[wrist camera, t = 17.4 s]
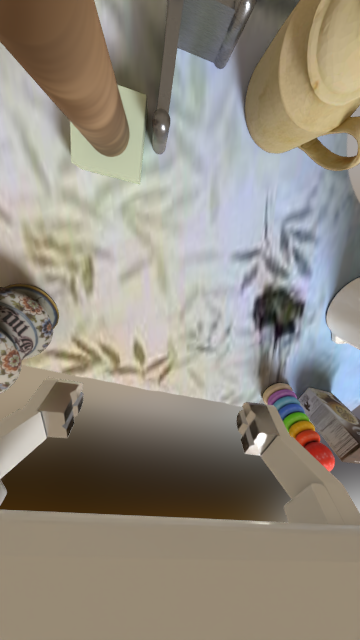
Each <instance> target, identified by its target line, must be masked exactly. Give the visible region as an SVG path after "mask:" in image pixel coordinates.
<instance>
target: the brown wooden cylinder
mask: <svg viewBox="0 0 360 640" xmlns="http://www.w3.org/2000/svg"><path fill="white" fill-rule="evenodd" d="M0 42H1V43H2V44H3V45H4V46H5V47H6V49H7V50H8V51H9V52H10V53H11V54H12V55H13V57H14V58H15V59H16V60H17V61H18V62H19V63H20V65H21V66H22V67H23V68H24V69H25V70H26V71H27V72H28V74H29V75H30V76H31V77H32V78H33V79H34V80H35V82H36V83H37V84H38V85H39V86H40V87H41V88H42V90H43V91H44V92H45V93H46V94H47V95H48V96H49V97H50V99H51V100H52V101H53V102H54V103H55V104H56V105H57V107H58V108H59V109H60V110H61V111H62V112H63V113H64V115H65V116H66V117H67V118H68V119H69V120H70V121H71V122H72V124H73V125H74V126H75V127H76V128H77V129H78V130H79V132H80V133H81V134H82V135H83V136H84V137H85V138H86V139H87V141H88V142H89V143H90V144H91V145H92V146H93V147H94V149H95V150H96V151H98V152H99V153H100V154H102V155H104V156H107V157H115V156H118V155H120V154H121V153H123V152H124V150H125V149H126V147H127V145H128V142H129V136H130V132H129V125H128V121H127V118H126V114H125V110H124V107H123V103H122V100H121V96H120V92H119V89H118V85H117V82H116V78H115V74H114V71H113V67H112V64H111V60H110V56H109V53H108V49H107V46H106V42H105V38H104V35H103V31H102V28H101V24H100V20H99V17H98V13H97V10H96V6H95V2H94V0H0Z"/></svg>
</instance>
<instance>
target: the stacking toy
mask: <svg viewBox="0 0 360 640" xmlns="http://www.w3.org/2000/svg"><path fill="white" fill-rule="evenodd" d="M263 401H264V402H265V404H267V405H274V406H275V407H276V409H277V411H278V413H279V415H280V417H281V419H282V421H283V423H284V425H285V427H286V429H287V431H288V432H289V434H290V436H291V437H293V438H294V439H296V440H297V441H298V442H299V443H300V444H301V445H302V446H303V447H304V448H305V449H306V450H307V451H308V452H309V453H310V454H311V455H312V456H313V457H314V458H315V459H316V460H317V461H319V462H320V463H321V464H322V465H323V466H324V467H325V468H326V469H327V470H328V471H331V470H332V468H333V467H334V464H335V460H334V456H333V454H332V452H331V451H330V450H329V449H328V448H327V447H326V446H325V445H323V444H321V443H319V442H320V436H319V435H318V434H317V433H316V432H315V428H314V426H313V424H312V423H311V422H309V418H308V416H307V415H306V414H305V411H304V409H303V408H302V407H301V406H300V402H299V401H298V399H297V396H296V394H295V393H294V392H293V391H292V388H291V387H290V386H289V385H287V384H285V383H277V384H274V385H272V386H270V387H268V388H267V389H266V390H265V392H264V394H263Z"/></svg>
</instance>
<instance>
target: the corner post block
mask: <svg viewBox="0 0 360 640" xmlns="http://www.w3.org/2000/svg"><path fill="white" fill-rule="evenodd" d="M256 2H257V0H167V13H166V27H165V44H164V53H163V62H162V70H161V79H160V88H159V96H158V105H157V110H156V111H155V112H154V114H153V132H152V146H153V150H154V151H155V152H156V153H157V154H162V153H163V152H164V151H165V148H166V142H167V137H168V132H169V127H170V117H169V114H168V113H169V105H170V98H171V90H172V83H173V75H174V68H175V60H176V53H177V48H180V49H182V50H185V51H187V52H189V53H192V54H194V55H197V56H199V57H201V58H204V59H206V60H209V61H211V62H213V63H214V64H215V66H216V67H217V68H219V69H222V68H224V67H225V66H226V64H227V62H228V60H229V58H230V55H231V53H232V51H233V49H234V47H235V45H236V43H237V41H238V39H239V37H240V35H241V33H242V31H243V29H244V27H245V24H246V22H247V20H248V18H249V16H250V14H251V12H252V10H253V8H254V6H255V4H256Z"/></svg>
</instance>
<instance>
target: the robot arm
mask: <svg viewBox="0 0 360 640" xmlns="http://www.w3.org/2000/svg"><path fill="white" fill-rule="evenodd" d="M326 320H327V325H328V327H329V329H330V330H331V332H332V341H333V342H335V343H337V344H343V343H348V344H350V345H352V346H354V347H355V348H357V349H359V350H360V277H359V278H357V279H355V280H353V281H352V282H350V283H349V284H347V285H346V286H345V287H344V288H343V289H342V290H340V292H339V293H338V294H337V295H336V296H335V298H334V299H333V301H332V302H331V304H330V306H329V309H328V312H327V318H326ZM82 388H83V385H82V383H81V382H75V381H67V380H61V379H53V378H47V379H46V380H44V381H43V383H42V384H41V385H40V386H39V388H38V389H37V391H36V392H35V393H34V395H33V396H32V397H31V399H30V400H29V401H28V403H27V404H26V405H25V407H24V408H23V410H21V409H18V410H17V411H15V412H13V413H12V414H10V415H8V416H7V417H5V418H4V419H2V420H0V479H1V478H2V477H3V476H4V475H5V474H6V473H8V472H9V471H10V470H11V469H12V468H13V467H14V466H15V465H17V464H18V463H19V462H20V461H21V460H22V459H23V458H25V457H26V456H27V455H28V454H29V453H30V452H31V451H33V450H34V449H35V448H36V447H37V446H38V445H39V444H41V443H42V442H43V441H44V440H45V439H46V438H47V437H59V438H68V436H69V434H70V431H71V429H72V427H73V425H74V417H75V416H77V415H78V414H79V412H80V409H81V407H82V403H83V393H82V392H81V390H82ZM242 407H243V410H241V411H240V412H239V413H238V415H237V428H238V431H239V432H240V433H241V434H242V437H241V443H242V446H243V450H244V453H245V454H252V455H260V456H261V458H262V459H263V461H264V462H265V463H266V465H267V466H268V467H269V469H270V470H271V472H272V473H273V474H274V475H275V477H276V478H277V480H278V481H279V482H280V484H281V485H282V487H283V488H284V489H285V491H286V492H287V494H288V495H289V496H290V498H291V499H292V500H290V501H289V502H288V503H287V504H285V506H284V510H285V513H286V516H287V519H288V522H289V523H287V522H265V521H243V520H241V521H240V520H220V519H198V518H175V517H153V516H130V515H108V514H106V515H105V514H85V513H63V512H61V513H60V512H40V511H18V510H16V511H15V510H0V640H360V513H359V511H358V510H357V508H356V506H355V505H354V503H353V501H352V500H351V498H350V496H349V495H348V493H347V491H346V489H345V488H344V486H343V485H342V484H341V483H340V482H339V481H338V480H337V479H336V478H335V477H334V476H333V475H332V474H331V473H330V472H329V471H328V470H327V469H326V468H325V467H324V466H323V465H322V464H321V463H320V462H319V461H317V460H316V459H315V458H314V457H313V456H312V455H311V454H310V453H309V452H308V451H307V450H306V449H305V448H304V447H303V446H302V445H301V444H300V443H299V442H298V441H297V440H296V439H294V438H293V437H290V435H289V433H288V431H287V429H286V427H285V425H284V423H283V421H282V419H281V417H280V415H279V413H278V411H277V409H276V407H275V406H274V405H266V404H259V403H250V402H246V403H244V404H243V406H242ZM5 495H6V489H5V487H4V485H3V483H2V482H1V480H0V504H1V502H2V501H3V499H4V497H5Z"/></svg>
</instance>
